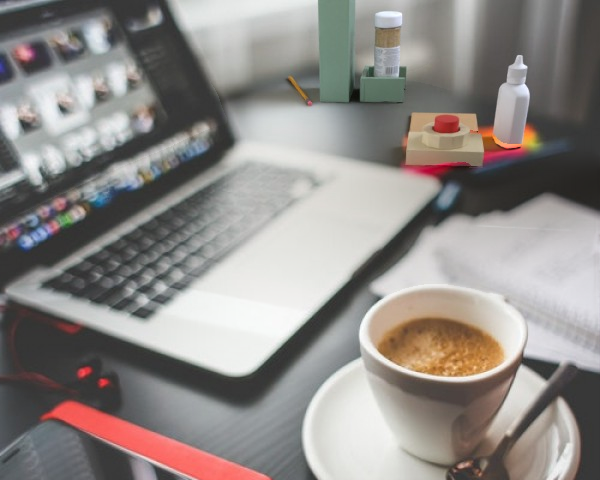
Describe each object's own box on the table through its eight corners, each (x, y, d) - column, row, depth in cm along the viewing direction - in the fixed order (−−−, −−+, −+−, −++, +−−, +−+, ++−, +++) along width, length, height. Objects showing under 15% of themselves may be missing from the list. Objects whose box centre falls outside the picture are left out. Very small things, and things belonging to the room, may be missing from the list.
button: (457, 127, 85) (459, 114, 84) (458, 135, 83) (459, 122, 82) (433, 126, 86) (435, 114, 85) (433, 135, 83) (434, 122, 82)
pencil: (312, 106, 108) (312, 101, 107) (308, 106, 107) (308, 101, 107) (290, 77, 123) (290, 73, 122) (286, 77, 123) (286, 73, 122)
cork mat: (475, 117, 99) (475, 113, 99) (478, 139, 91) (479, 135, 91) (411, 116, 101) (411, 112, 101) (408, 137, 93) (409, 133, 93)
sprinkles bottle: (396, 90, 113) (400, 9, 105) (400, 98, 109) (404, 14, 101) (370, 92, 113) (372, 11, 105) (374, 99, 109) (376, 16, 101)
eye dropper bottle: (524, 138, 91) (538, 51, 84) (520, 151, 87) (535, 61, 80) (493, 135, 92) (505, 50, 86) (488, 148, 88) (500, 60, 81)
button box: (479, 148, 88) (483, 120, 86) (482, 168, 83) (486, 138, 80) (407, 146, 90) (409, 119, 88) (405, 165, 84) (407, 136, 82)
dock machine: (405, 88, 114) (412, -30, 103) (403, 103, 106) (409, -21, 96) (327, 86, 116) (325, -28, 106) (319, 102, 109) (316, -20, 98)
